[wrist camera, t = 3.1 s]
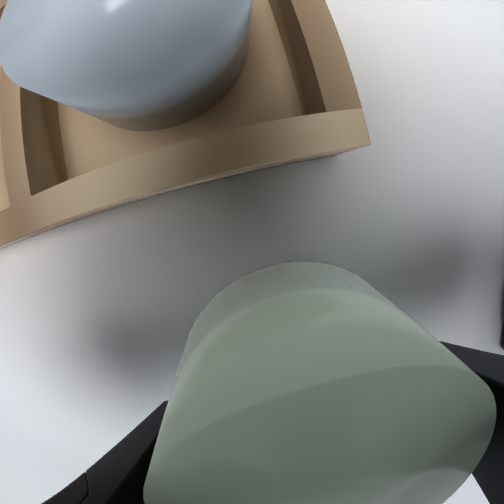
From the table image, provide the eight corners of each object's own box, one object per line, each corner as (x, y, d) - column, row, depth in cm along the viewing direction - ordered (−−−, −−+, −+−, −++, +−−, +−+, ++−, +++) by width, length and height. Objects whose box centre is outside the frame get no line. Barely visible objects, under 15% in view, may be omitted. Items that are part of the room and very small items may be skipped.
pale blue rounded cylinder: (229, -31, 8) (226, -117, 3) (267, 104, 9) (293, 37, 4) (76, 18, 8) (13, -39, 3) (89, 155, 9) (-7, 143, 4)
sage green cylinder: (387, 237, 8) (527, 297, 3) (393, 410, 9) (453, 510, 4) (154, 291, 8) (65, 413, 3) (219, 453, 9) (213, 572, 4)
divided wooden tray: (266, -56, 8) (272, -99, 5) (336, 154, 10) (370, 144, 7) (-66, 101, 8) (-98, 96, 5) (-50, 271, 10) (-85, 286, 7)
